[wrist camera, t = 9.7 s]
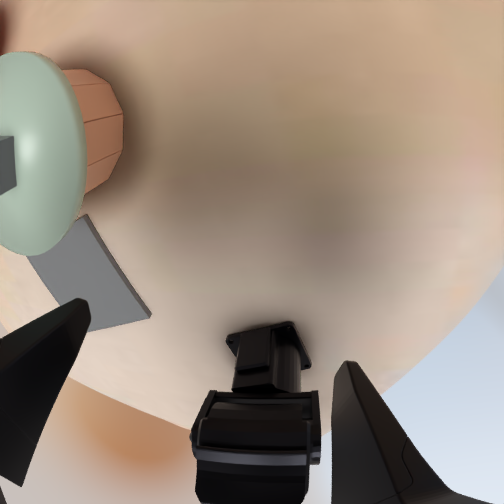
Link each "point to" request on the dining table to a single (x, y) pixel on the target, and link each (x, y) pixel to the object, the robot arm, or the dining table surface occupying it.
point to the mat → (89, 277)
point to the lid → (38, 154)
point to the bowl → (98, 124)
